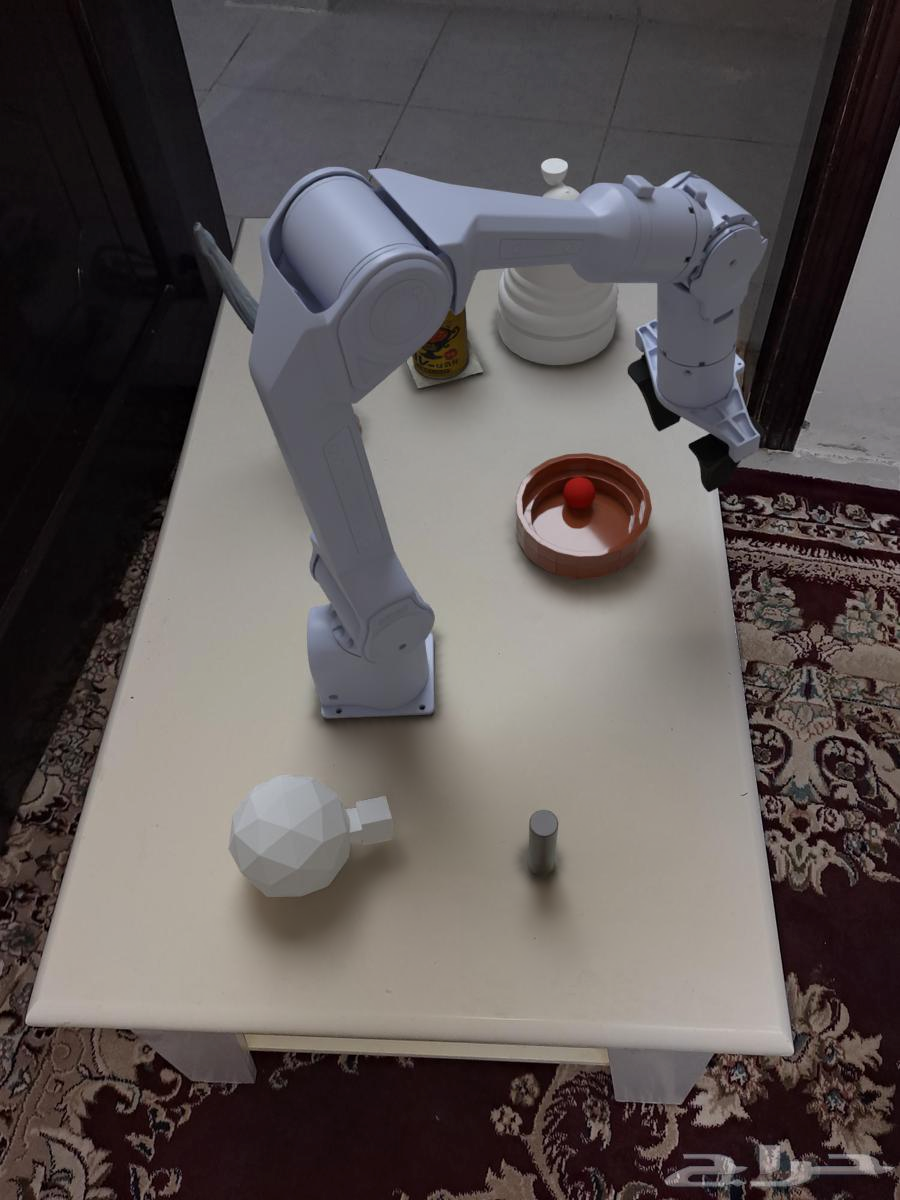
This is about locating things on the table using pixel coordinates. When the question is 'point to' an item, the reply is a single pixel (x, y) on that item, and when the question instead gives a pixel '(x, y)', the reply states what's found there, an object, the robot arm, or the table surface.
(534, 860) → the stick
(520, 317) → the honey pot
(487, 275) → the table surface
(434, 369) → the condiment
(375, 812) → the perfume bottle
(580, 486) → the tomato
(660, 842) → the table surface
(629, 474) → the bowl
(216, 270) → the antler
